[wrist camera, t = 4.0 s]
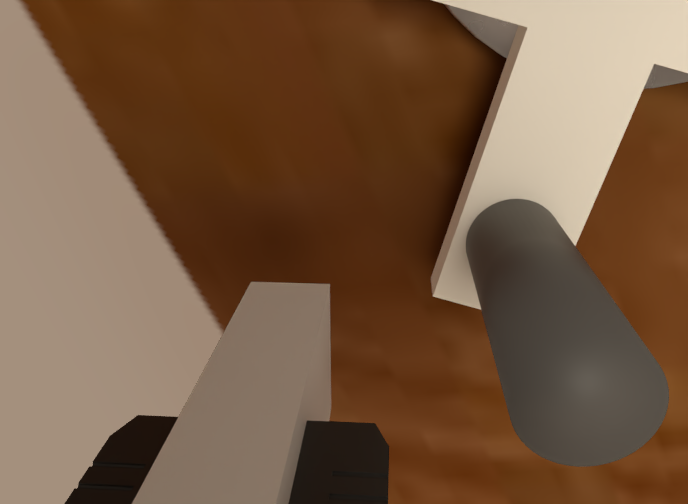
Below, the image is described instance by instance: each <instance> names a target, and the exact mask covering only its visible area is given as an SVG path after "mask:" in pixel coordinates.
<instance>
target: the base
mask: <svg viewBox="0 0 688 504" xmlns="http://www.w3.org/2000/svg"><path fill="white" fill-rule="evenodd" d="M444 5H445V6H446V7H447V9H448V10H449V11H450V13H451V14H452V15H453V16H454V17H455V18H456V19H457V20H458V21H459V22H460V23H461V24H462V25H463V26H464V27H465V28H466V29H467V30H468V31H469V32H470V33H471V34H472V35H473V36H475V37H476V38H477V39H479V40H480V41H482V42H483V43H484V44H486V45H487V46H488V47H490V48H491V49H492V50H494V51H495V52H497V53H498V54H500V55H502V56H503V57H505V58H507V57H508V54H509V51H510V48H511V45H512V42H513V40H514V37H515V34H516V31H517V28H518V25H516V24H513V23H509V22H506V21H502V20H499V19H495V18H492V17H488V16H485V15H481V14H478V13H474V12H471V11H467V10H464V9H460V8H457V7H453V6H450V5H446V4H444ZM683 82H688V73H684V72H681V71H677V70H674V69H670V68H667V67H663V66H660V65H656V64H654V65H653V68H652V70H651V72H650V75H649V77H648V79H647V82H646V84H645V86H644V88H643V89H646V88H656V87H662V86H667V85H673V84H678V83H683Z"/></svg>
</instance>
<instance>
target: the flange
mask: <svg viewBox="0 0 688 504" xmlns="http://www.w3.org/2000/svg"><path fill="white" fill-rule="evenodd" d="M432 1H436V2H439V3H443V4H446V5H450V6H453V7H457V8H460V9H464V10H467V11H471V12H474V13H478V14H481V15H485V16H488V17H492V18H495V19H499V20H502V21H506V22H509V23H513V24H516V25H518V28H517V31H516V34H515V37H514V40H513V42H512V45H511V48H510V51H509V54H508V57H507V60H506V63H505V65H504V68H503V71H502V74H501V77H500V80H499V83H498V86H497V89H496V91H495V94H494V97H493V100H492V103H491V106H490V109H489V112H488V114H487V117H486V120H485V123H484V126H483V129H482V132H481V135H480V138H479V140H478V143H477V146H476V149H475V152H474V155H473V158H472V161H471V163H470V166H469V169H468V172H467V175H466V178H465V181H464V184H463V187H462V189H461V192H460V195H459V198H458V201H457V204H456V207H455V210H454V212H453V215H452V218H451V221H450V224H449V227H448V230H447V233H446V235H445V238H444V241H443V244H442V247H441V250H440V253H439V256H438V259H437V261H436V264H435V267H434V270H433V273H432V276H431V285H432V294H433V297H437V298H440V299H444V300H448V301H451V302H455V303H459V304H462V305H466V306H469V307H473V308H477V309H480V310H482V314H483V318H484V322H485V325H486V329H487V333H488V337H489V340H490V344H491V348H492V352H493V355H494V359H495V363H496V367H497V370H498V374H499V378H500V382H501V385H502V389H503V393H504V397H505V400H506V404H507V408H508V412H509V415H510V419H511V422H512V426H513V428H514V430H515V432H516V434H517V435H518V436H519V438H520V439H521V441H522V442H523V443H524V444H525V445H526V446H527V447H528V448H529V449H531V450H532V451H533V452H535V453H536V454H538V455H539V456H541V457H543V458H545V459H547V460H550V461H553V462H556V463H559V464H564V465H569V466H596V465H602V464H606V463H610V462H613V461H616V460H619V459H621V458H623V457H626V456H628V455H629V454H631V453H633V452H635V451H636V450H637V449H639V448H640V447H642V446H643V445H644V444H645V443H646V442H647V441H648V440H650V439H651V437H652V436H653V435H654V434H655V433H656V431H657V430H658V428H659V427H660V425H661V424H662V421H663V419H664V417H665V415H666V411H667V408H668V401H669V389H668V384H667V380H666V377H665V375H664V372H663V371H662V369H661V367H660V365H659V364H658V363H657V361H656V360H655V358H654V357H653V356H652V354H651V353H650V351H649V350H648V348H647V347H646V346H645V344H644V343H643V341H642V340H641V339H640V337H639V336H638V334H637V333H636V331H635V330H634V329H633V327H632V326H631V324H630V323H629V322H628V320H627V319H626V317H625V316H624V315H623V313H622V312H621V310H620V309H619V307H618V306H617V305H616V303H615V302H614V300H613V299H612V298H611V296H610V295H609V293H608V292H607V291H606V289H605V288H604V286H603V285H602V283H601V282H600V281H599V279H598V278H597V276H596V275H595V274H594V272H593V271H592V269H591V268H590V267H589V265H588V264H587V262H586V261H585V259H584V258H583V257H582V255H581V254H580V252H579V251H578V250H577V248H576V247H575V246H576V243H577V241H578V239H579V237H580V234H581V232H582V230H583V227H584V225H585V223H586V220H587V218H588V216H589V213H590V211H591V209H592V206H593V204H594V202H595V200H596V197H597V195H598V193H599V190H600V188H601V186H602V183H603V181H604V179H605V176H606V174H607V172H608V169H609V167H610V165H611V163H612V160H613V158H614V156H615V153H616V151H617V149H618V146H619V144H620V142H621V139H622V137H623V135H624V132H625V130H626V128H627V125H628V123H629V121H630V119H631V116H632V114H633V112H634V109H635V107H636V105H637V102H638V100H639V98H640V95H641V93H642V91H643V88H644V86H645V84H646V82H647V79H648V77H649V75H650V72H651V70H652V68H653V65H654V64H656V65H660V66H663V67H667V68H670V69H674V70H677V71H681V72H684V73H688V0H432Z"/></svg>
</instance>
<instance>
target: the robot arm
mask: <svg viewBox="0 0 688 504" xmlns="http://www.w3.org/2000/svg"><path fill="white" fill-rule="evenodd" d="M330 412H331V342H330V284H313V283H278V282H251V283H250V285H249V286H248V288H247V290H246V292H245V294H244V296H243V298H242V299H241V301H240V303H239V305H238V307H237V309H236V311H235V312H234V314H233V316H232V318H231V320H230V322H229V324H228V326H227V327H226V329H225V331H224V333H223V335H222V337H221V339H220V340H219V342H218V344H217V346H216V348H215V350H214V352H213V354H212V355H211V357H210V359H209V361H208V363H207V365H206V367H205V369H204V370H203V372H202V374H201V376H200V378H199V380H198V381H197V383H196V385H195V387H194V389H193V391H192V393H191V395H190V396H189V398H188V400H187V402H186V404H185V406H184V408H183V409H182V411H181V413H180V415H179V417H165V416H144V415H143V416H142V415H138V416H136V417H135V418H134V419H132V420H131V421H130V422H128V423H127V424H126V425H124V426H123V427H122V428H120V429H119V430H118V431H116V432H115V433H113V434H112V435H111V436H110V437H109V438H108V440H107V441H106V443H105V445H104V446H103V447H102V449H101V450H100V452H99V453H98V455H97V457H96V458H95V459H94V461H93V466H92V467H89V468H88V470H87V471H86V473H85V474H84V476H83V477H82V479H81V480H80V481H79V485H78V488H77V489H74V490H73V492H72V493H71V495H70V496H69V498H68V499H67V501H66V502H65V504H388V471H389V446H388V444H387V443H386V441H385V439H384V438H383V436H382V434H381V433H380V431H379V429H378V427H377V426H376V424H375V423H354V422H332V421H329V418H330Z"/></svg>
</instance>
